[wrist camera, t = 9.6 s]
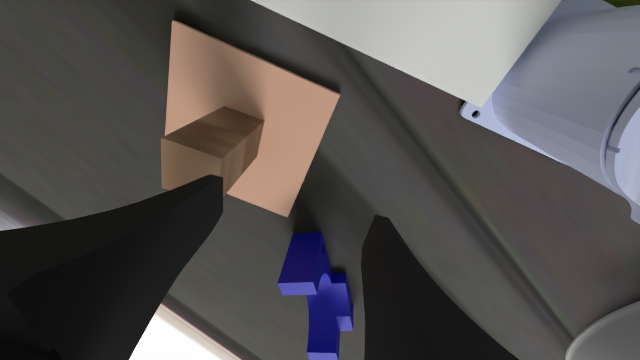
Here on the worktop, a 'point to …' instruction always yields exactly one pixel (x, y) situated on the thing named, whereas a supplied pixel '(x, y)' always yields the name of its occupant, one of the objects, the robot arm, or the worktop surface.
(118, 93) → the worktop surface
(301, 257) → the cable clip
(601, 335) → the kettle
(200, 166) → the walnut peg
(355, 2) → the board
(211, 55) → the terracotta tile
